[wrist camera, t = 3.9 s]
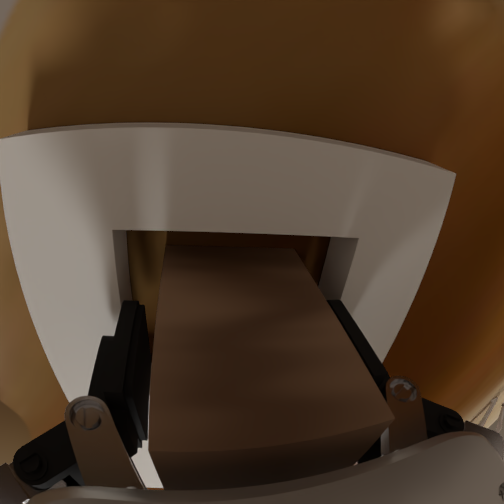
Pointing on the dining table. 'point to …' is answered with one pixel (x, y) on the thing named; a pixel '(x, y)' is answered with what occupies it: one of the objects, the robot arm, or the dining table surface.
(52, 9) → the dining table surface
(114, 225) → the pocket board
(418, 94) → the dining table surface
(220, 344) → the walnut block
